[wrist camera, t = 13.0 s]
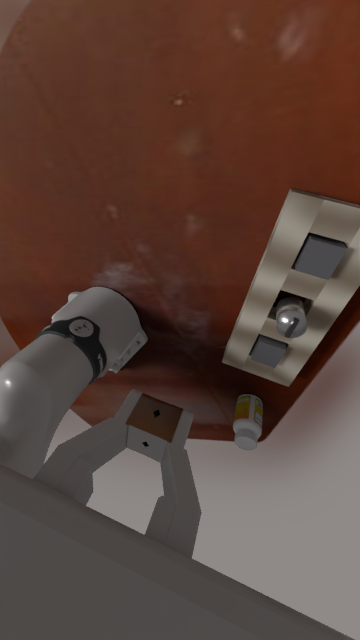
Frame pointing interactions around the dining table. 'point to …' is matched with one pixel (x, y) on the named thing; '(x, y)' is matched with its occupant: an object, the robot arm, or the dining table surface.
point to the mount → (297, 284)
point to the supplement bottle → (248, 421)
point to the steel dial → (290, 317)
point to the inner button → (268, 350)
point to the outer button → (319, 256)
